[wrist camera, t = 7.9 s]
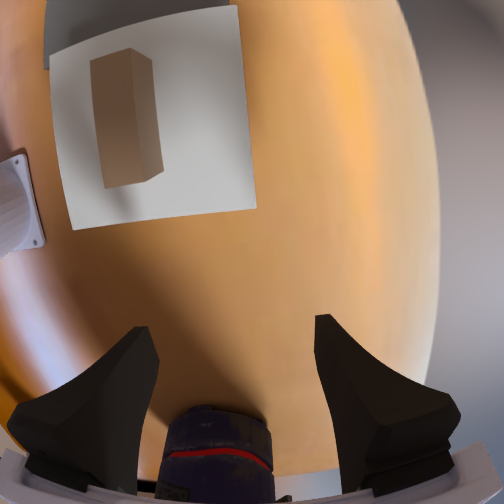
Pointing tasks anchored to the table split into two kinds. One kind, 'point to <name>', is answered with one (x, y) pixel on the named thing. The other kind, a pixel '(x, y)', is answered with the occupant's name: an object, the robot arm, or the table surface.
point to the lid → (154, 120)
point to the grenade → (217, 460)
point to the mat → (105, 18)
